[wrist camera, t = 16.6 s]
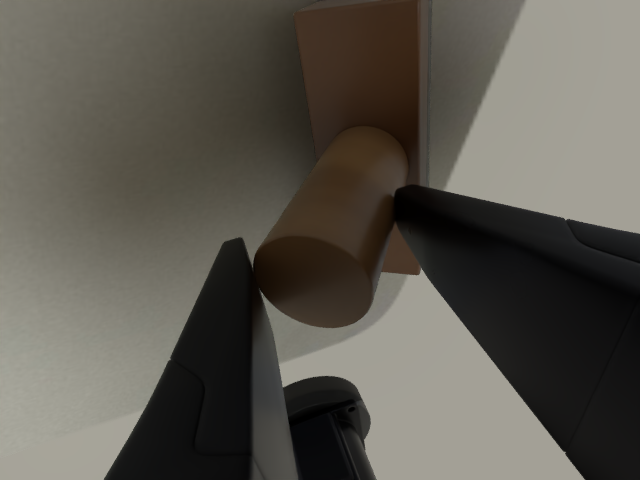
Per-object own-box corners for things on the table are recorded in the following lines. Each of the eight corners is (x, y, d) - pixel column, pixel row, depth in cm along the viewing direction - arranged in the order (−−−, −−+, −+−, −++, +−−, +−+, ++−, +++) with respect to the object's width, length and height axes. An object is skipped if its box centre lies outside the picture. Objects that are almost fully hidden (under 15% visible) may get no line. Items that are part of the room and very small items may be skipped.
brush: (428, 225, 15) (396, 417, 9) (352, 221, 16) (280, 392, 10) (432, -19, 11) (375, 48, 5) (327, -4, 12) (167, 68, 6)
